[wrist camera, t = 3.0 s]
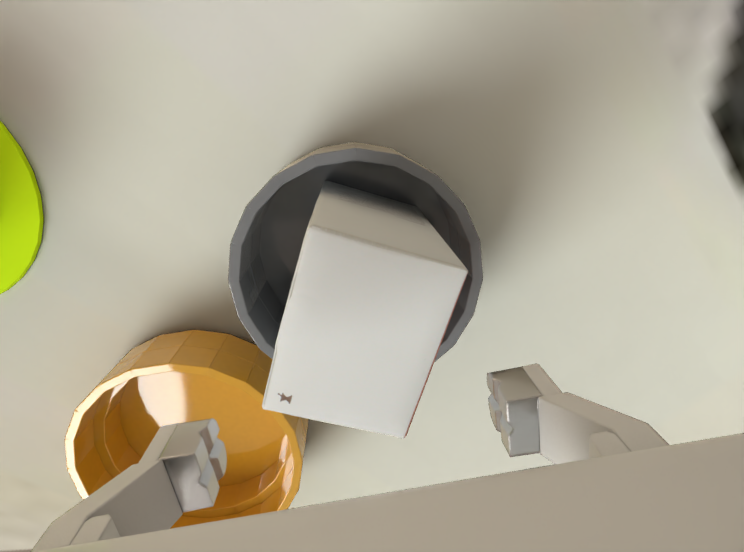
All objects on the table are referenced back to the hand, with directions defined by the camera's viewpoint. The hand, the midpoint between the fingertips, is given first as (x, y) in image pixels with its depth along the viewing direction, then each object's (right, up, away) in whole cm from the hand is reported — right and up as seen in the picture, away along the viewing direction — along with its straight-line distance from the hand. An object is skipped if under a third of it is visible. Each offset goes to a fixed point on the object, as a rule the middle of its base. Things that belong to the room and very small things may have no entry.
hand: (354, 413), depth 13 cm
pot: (-1, +6, +17) cm, 18 cm away
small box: (-1, +6, +16) cm, 17 cm away
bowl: (-12, -6, +20) cm, 24 cm away
